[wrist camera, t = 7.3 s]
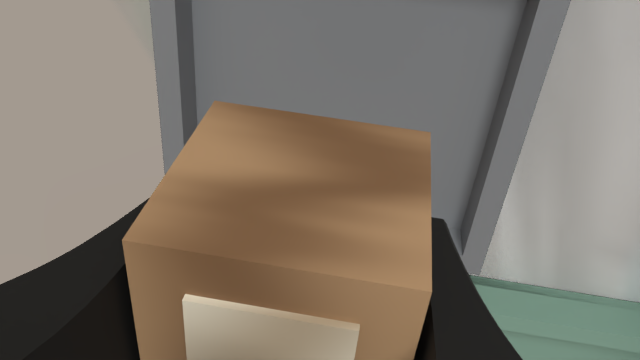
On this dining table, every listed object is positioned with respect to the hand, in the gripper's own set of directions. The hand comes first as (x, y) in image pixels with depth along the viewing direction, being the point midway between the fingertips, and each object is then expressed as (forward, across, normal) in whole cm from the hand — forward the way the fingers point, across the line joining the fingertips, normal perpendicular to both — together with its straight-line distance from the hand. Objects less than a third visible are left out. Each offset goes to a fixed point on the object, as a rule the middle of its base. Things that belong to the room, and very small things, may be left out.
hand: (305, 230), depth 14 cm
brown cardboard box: (+1, 0, 0) cm, 1 cm away
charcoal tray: (+8, 0, 0) cm, 8 cm away
